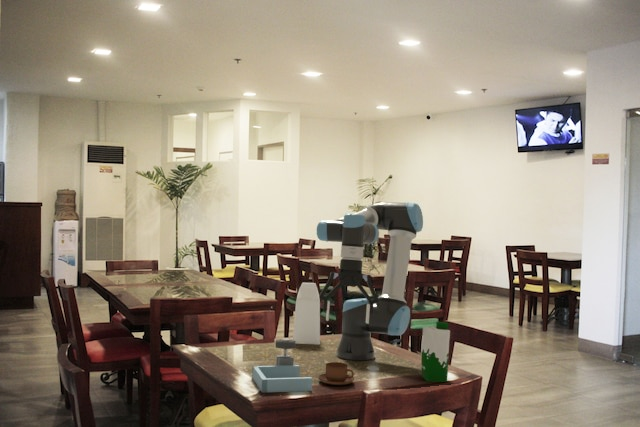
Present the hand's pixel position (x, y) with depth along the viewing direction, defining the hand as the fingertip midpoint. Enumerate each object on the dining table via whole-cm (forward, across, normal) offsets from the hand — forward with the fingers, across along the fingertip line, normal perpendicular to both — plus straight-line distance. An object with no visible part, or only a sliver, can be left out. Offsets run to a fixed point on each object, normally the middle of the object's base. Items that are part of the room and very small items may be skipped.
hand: (347, 321), depth 214 cm
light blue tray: (+21, -21, -2) cm, 30 cm away
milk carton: (+19, +33, +8) cm, 38 cm away
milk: (+17, -11, +69) cm, 72 cm away
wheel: (+14, -20, +8) cm, 26 cm away
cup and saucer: (+21, -2, -1) cm, 21 cm away
